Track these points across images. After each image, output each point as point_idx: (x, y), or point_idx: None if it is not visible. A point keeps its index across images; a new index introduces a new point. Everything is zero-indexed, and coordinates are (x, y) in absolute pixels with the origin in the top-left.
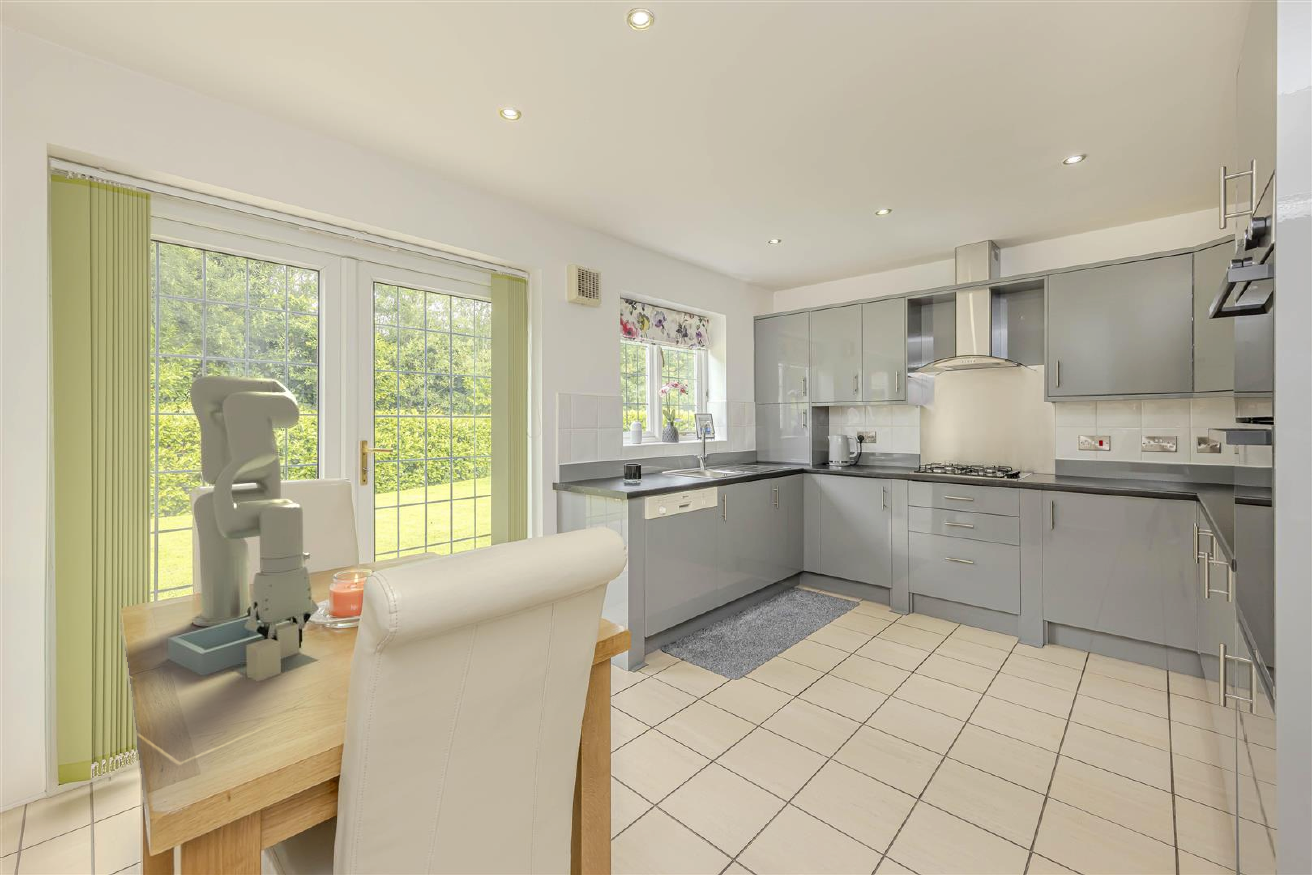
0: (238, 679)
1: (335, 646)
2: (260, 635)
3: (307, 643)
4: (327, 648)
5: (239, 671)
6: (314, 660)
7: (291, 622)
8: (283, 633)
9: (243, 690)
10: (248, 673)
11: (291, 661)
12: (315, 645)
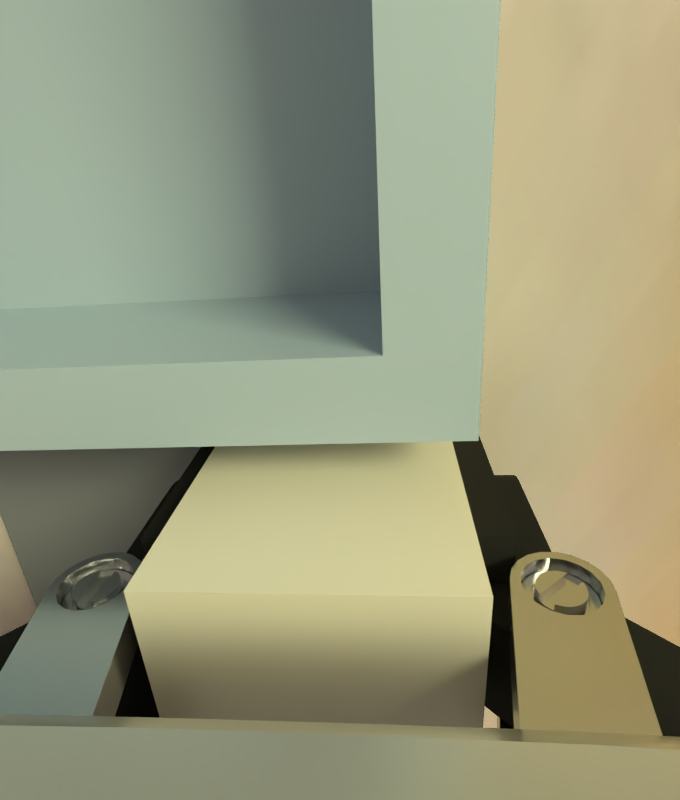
0: (8, 593)
1: (675, 603)
2: (106, 418)
3: (630, 347)
4: (617, 591)
5: (15, 514)
6: None
7: (465, 702)
8: None
9: None
10: None
11: None
12: (624, 459)
